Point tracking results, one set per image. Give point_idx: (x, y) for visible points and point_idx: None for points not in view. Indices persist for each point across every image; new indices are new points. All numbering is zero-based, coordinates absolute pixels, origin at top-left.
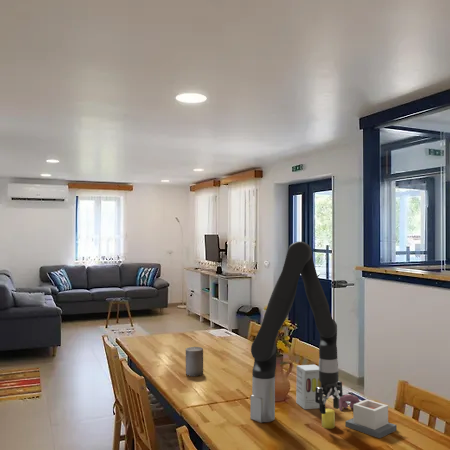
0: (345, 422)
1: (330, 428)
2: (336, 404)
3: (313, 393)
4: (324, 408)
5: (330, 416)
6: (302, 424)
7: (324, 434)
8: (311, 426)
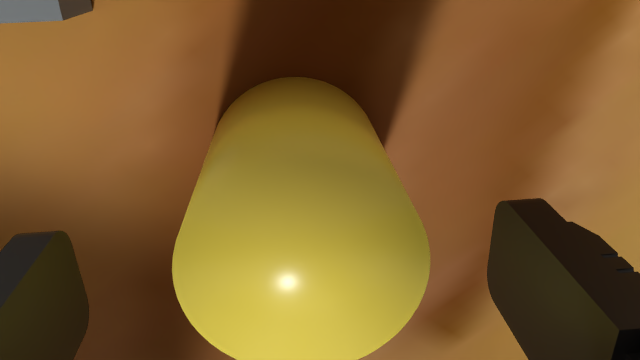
0: (70, 16)
1: (337, 89)
2: (32, 314)
3: None
4: (595, 260)
5: (362, 145)
6: (483, 338)
7: (567, 3)
8: (460, 258)
